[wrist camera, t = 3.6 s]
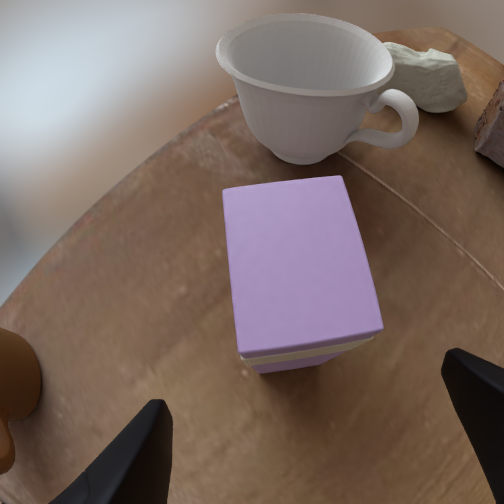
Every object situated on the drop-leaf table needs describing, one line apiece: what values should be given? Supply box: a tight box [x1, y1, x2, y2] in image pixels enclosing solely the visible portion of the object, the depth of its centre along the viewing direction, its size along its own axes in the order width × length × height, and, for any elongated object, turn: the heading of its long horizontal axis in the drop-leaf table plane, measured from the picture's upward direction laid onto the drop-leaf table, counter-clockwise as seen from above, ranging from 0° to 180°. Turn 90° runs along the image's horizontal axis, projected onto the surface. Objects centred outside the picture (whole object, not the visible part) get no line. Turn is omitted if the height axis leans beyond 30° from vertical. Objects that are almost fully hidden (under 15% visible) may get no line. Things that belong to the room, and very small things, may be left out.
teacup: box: [216, 13, 419, 165], centre depth 21 cm, size 12×15×10 cm
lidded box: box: [222, 175, 384, 374], centre depth 14 cm, size 5×4×12 cm
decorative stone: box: [376, 42, 467, 113], centre depth 26 cm, size 11×9×10 cm
